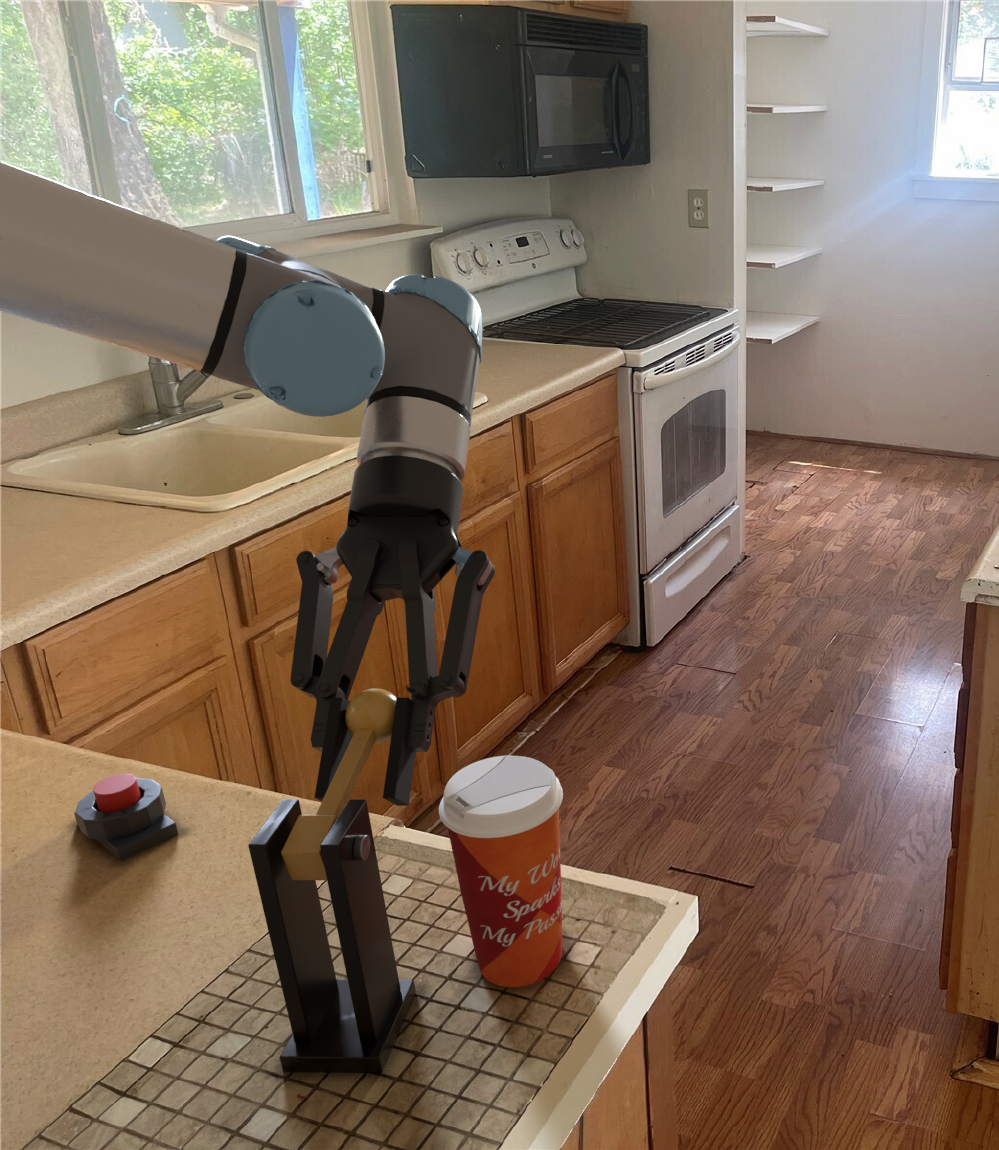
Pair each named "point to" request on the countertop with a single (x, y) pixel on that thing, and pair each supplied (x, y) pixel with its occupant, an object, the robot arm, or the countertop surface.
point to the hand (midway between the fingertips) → (362, 801)
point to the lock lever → (340, 782)
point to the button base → (128, 822)
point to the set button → (116, 792)
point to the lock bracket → (301, 949)
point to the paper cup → (508, 864)
